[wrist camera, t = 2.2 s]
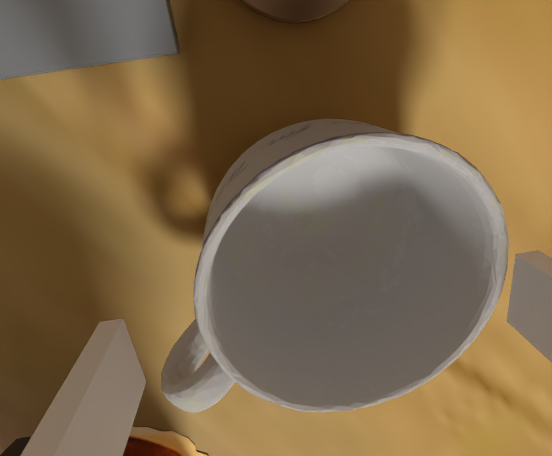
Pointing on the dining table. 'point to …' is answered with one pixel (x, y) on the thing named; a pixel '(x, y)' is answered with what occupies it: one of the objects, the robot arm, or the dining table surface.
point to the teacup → (339, 270)
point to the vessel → (158, 443)
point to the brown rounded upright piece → (294, 9)
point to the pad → (81, 34)
